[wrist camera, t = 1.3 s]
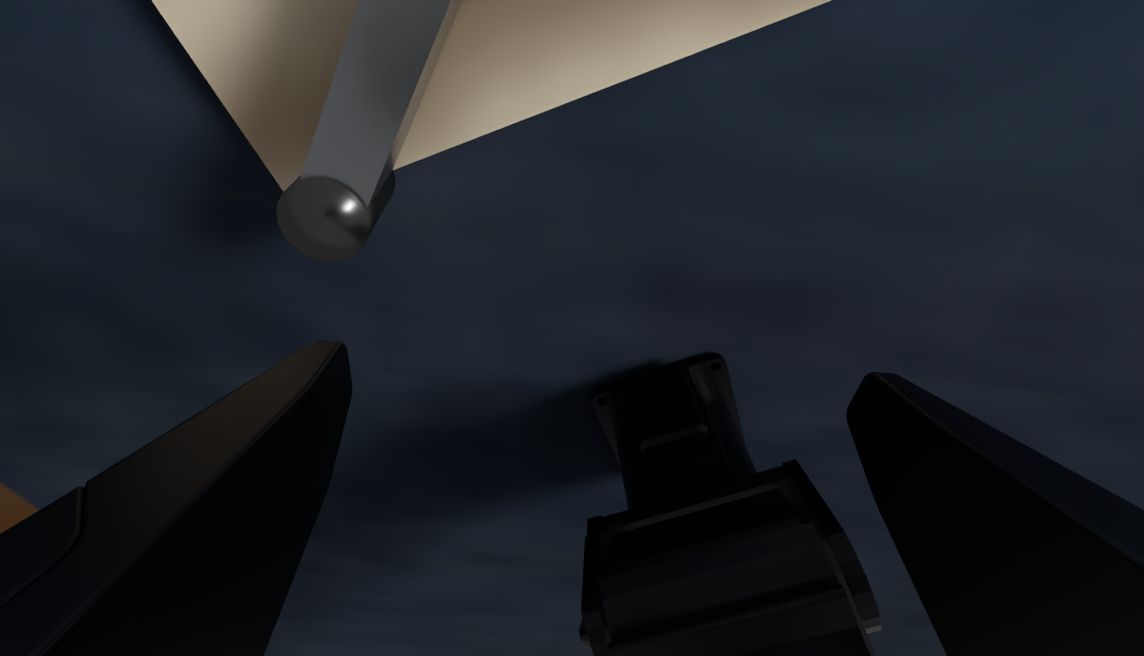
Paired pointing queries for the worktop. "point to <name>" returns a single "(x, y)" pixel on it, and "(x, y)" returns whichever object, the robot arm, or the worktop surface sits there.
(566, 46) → the level board
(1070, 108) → the worktop surface
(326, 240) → the grey metal handled piece
